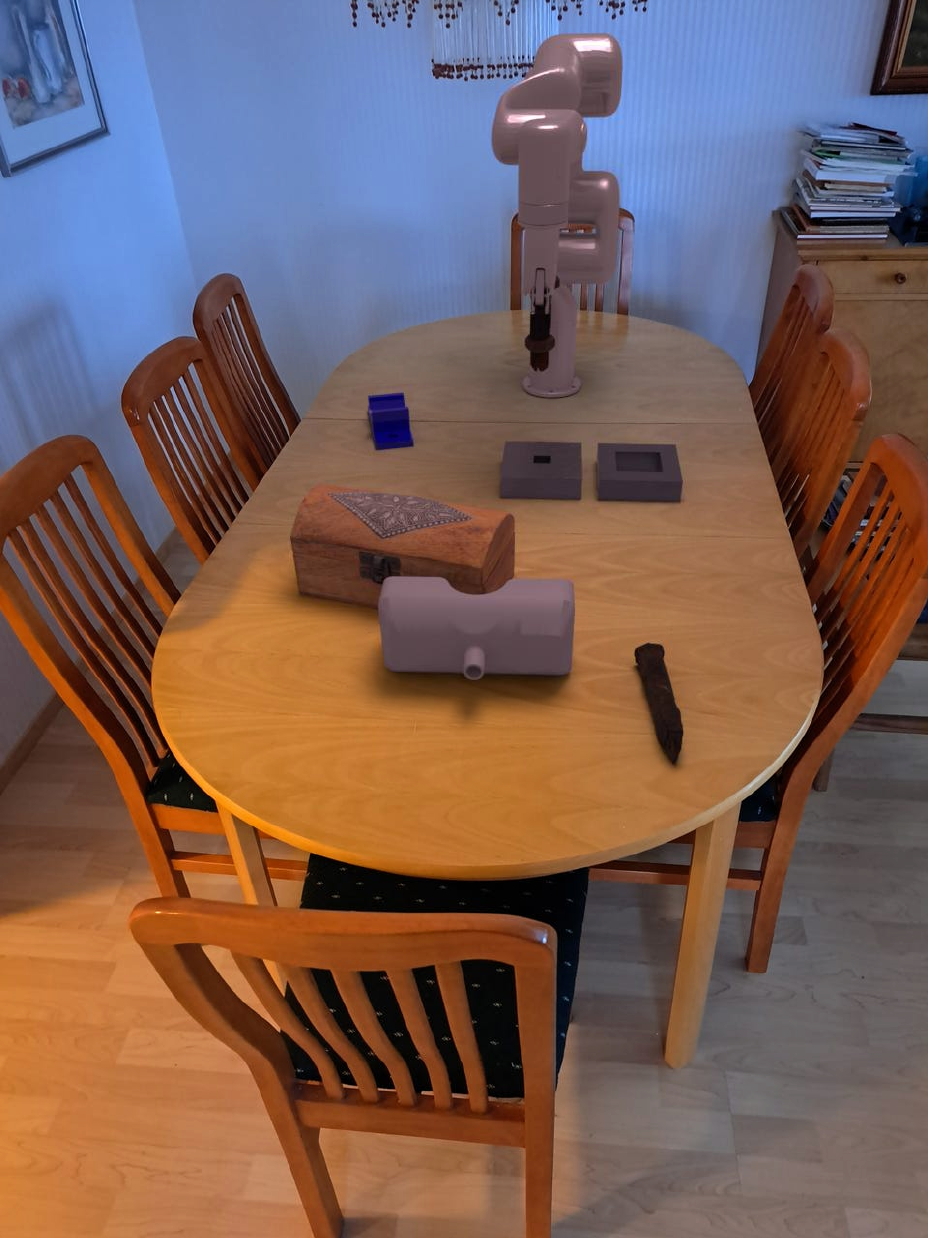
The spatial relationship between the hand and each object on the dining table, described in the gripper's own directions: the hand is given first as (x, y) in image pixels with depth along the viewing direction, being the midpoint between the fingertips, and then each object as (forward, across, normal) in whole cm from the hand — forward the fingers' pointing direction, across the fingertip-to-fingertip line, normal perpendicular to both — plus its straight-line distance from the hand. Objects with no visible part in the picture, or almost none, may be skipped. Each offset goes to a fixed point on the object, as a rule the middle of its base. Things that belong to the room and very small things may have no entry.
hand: (540, 331), depth 146 cm
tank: (+27, +53, -5) cm, 60 cm away
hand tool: (+27, +60, +19) cm, 68 cm away
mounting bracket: (+28, -19, -30) cm, 45 cm away
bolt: (+6, 0, 0) cm, 6 cm away
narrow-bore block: (+27, 0, +1) cm, 27 cm away
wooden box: (+27, +35, -18) cm, 48 cm away
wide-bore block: (+27, 0, +18) cm, 32 cm away
